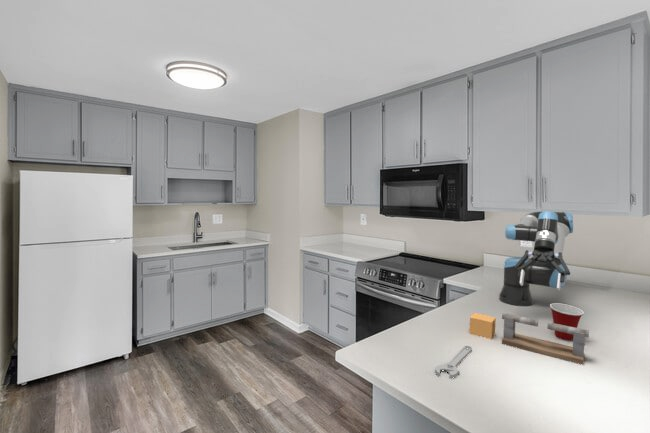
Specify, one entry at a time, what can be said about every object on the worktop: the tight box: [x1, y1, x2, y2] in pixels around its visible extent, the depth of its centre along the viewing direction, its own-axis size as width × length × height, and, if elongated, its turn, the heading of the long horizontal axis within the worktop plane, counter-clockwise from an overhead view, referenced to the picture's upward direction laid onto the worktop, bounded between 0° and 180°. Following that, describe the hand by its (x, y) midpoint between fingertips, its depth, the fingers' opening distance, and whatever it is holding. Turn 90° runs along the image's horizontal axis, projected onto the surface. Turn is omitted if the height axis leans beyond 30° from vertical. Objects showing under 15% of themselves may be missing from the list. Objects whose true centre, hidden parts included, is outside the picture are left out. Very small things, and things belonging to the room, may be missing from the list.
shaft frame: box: [501, 312, 590, 365], centre depth 119 cm, size 10×26×10 cm, turn 51°
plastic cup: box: [549, 302, 585, 341], centre depth 129 cm, size 11×11×12 cm
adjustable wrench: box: [434, 345, 473, 379], centre depth 109 cm, size 25×6×2 cm, turn 134°
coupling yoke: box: [469, 312, 497, 340], centre depth 132 cm, size 6×8×7 cm
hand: (539, 286), depth 141 cm, fingers open, 13 cm apart
